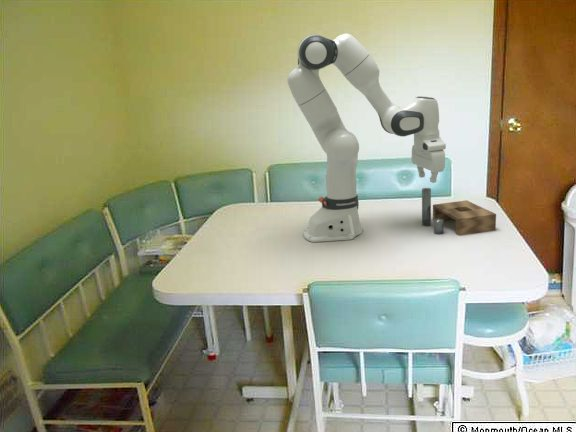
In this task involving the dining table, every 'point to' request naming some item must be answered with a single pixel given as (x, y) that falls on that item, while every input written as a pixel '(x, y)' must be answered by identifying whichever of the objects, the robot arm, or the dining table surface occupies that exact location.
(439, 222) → the short pin
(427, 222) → the long pin
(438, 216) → the bridge
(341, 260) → the dining table surface
